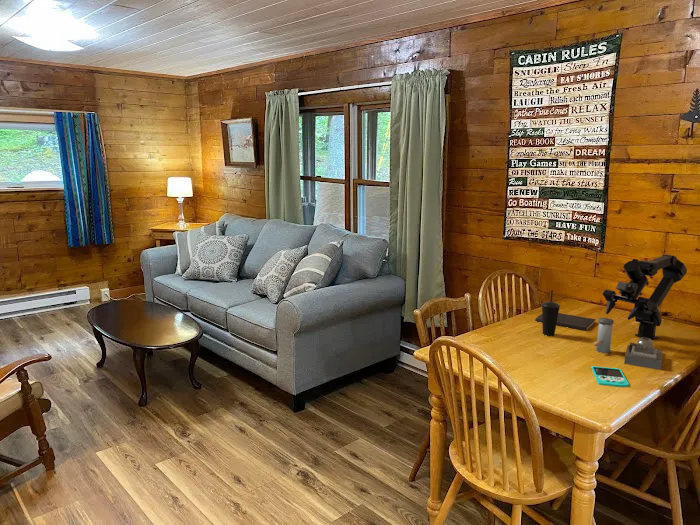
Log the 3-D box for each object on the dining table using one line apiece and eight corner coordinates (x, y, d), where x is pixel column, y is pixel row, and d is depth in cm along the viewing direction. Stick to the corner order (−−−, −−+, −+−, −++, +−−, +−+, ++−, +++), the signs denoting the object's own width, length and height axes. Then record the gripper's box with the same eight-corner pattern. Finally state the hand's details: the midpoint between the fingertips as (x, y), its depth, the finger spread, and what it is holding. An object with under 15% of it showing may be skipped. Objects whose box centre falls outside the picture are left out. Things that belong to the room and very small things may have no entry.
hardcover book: (545, 315, 267) (546, 310, 266) (595, 323, 253) (595, 319, 253) (534, 322, 254) (535, 318, 254) (586, 332, 241) (586, 327, 240)
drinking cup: (538, 336, 234) (542, 291, 230) (539, 330, 240) (543, 287, 237) (557, 338, 231) (561, 293, 227) (558, 333, 238) (561, 289, 234)
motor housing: (627, 347, 220) (629, 334, 219) (661, 353, 214) (663, 339, 213) (624, 363, 203) (625, 349, 202) (660, 369, 197) (662, 355, 196)
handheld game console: (597, 385, 184) (598, 382, 184) (590, 368, 199) (590, 365, 199) (629, 389, 181) (630, 385, 181) (619, 371, 196) (620, 368, 196)
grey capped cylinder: (600, 347, 219) (603, 317, 217) (613, 351, 215) (616, 320, 213) (588, 351, 215) (591, 320, 213) (601, 355, 211) (604, 323, 208)
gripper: (607, 270, 225) (588, 299, 221) (652, 278, 209) (633, 310, 206) (616, 286, 230) (598, 315, 227) (660, 295, 215) (642, 326, 211)
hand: (617, 316), depth 217 cm, fingers open, 9 cm apart
